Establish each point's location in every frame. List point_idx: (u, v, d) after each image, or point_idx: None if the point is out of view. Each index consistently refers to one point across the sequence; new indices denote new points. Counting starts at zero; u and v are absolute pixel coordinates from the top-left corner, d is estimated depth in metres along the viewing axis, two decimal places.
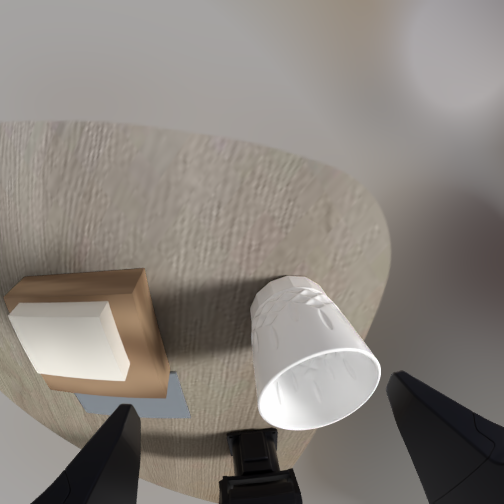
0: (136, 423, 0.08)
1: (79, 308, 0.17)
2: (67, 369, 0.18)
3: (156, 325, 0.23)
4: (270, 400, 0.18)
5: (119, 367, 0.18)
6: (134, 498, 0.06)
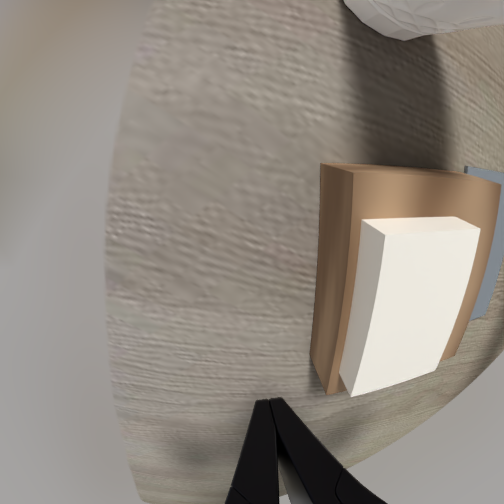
0: None
1: (365, 272, 0.12)
2: (445, 320, 0.12)
3: (405, 167, 0.15)
4: None
5: (461, 229, 0.10)
6: None
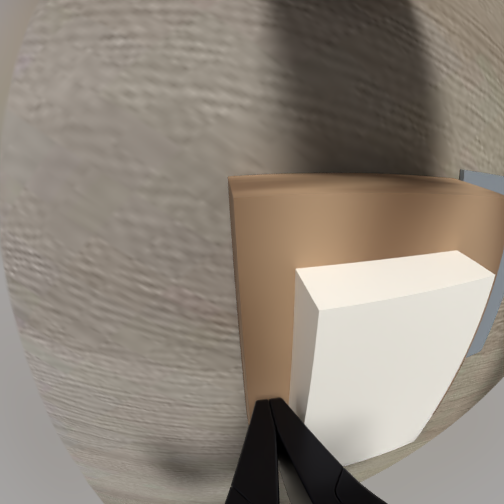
0: None
1: (300, 349, 0.08)
2: (430, 397, 0.08)
3: (365, 175, 0.10)
4: None
5: (466, 280, 0.06)
6: None
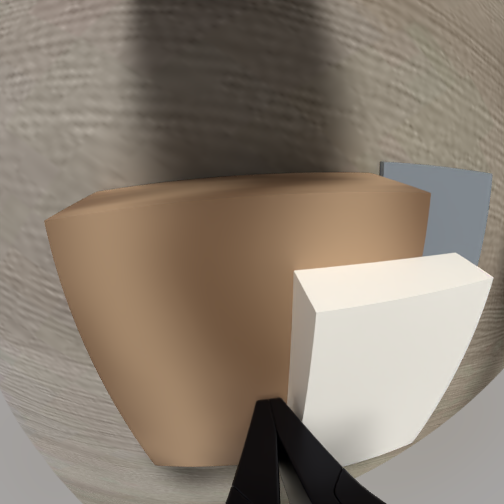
0: None
1: (298, 351, 0.08)
2: (428, 398, 0.08)
3: (230, 177, 0.10)
4: None
5: (464, 283, 0.06)
6: None
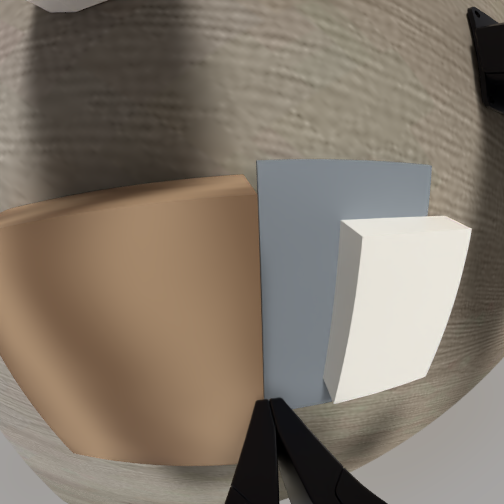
0: None
1: None
2: None
3: (93, 193, 0.09)
4: None
5: None
6: None
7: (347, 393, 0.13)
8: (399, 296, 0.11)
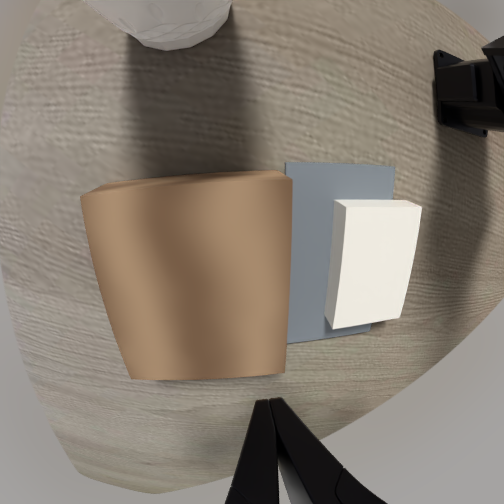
0: None
1: None
2: None
3: (184, 175, 0.17)
4: None
5: None
6: None
7: (342, 320, 0.20)
8: (372, 247, 0.18)
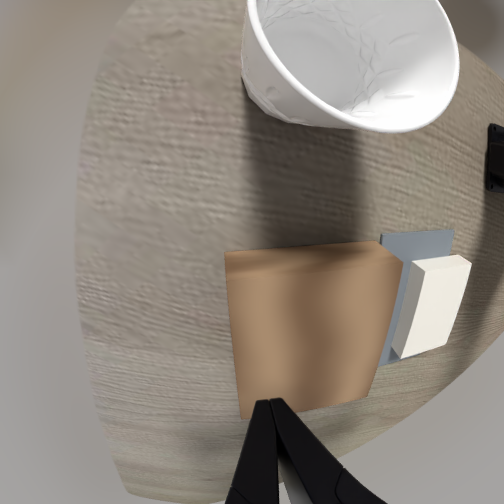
0: None
1: None
2: None
3: (304, 248, 0.19)
4: (400, 110, 0.09)
5: (425, 259, 0.21)
6: None
7: (407, 351, 0.22)
8: (436, 297, 0.20)
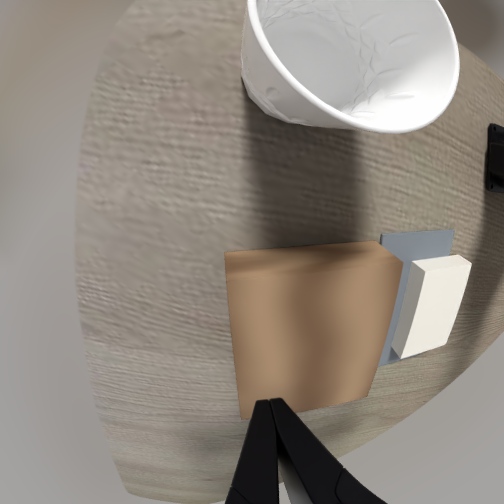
0: None
1: None
2: None
3: (304, 248, 0.19)
4: (400, 111, 0.09)
5: (425, 259, 0.21)
6: None
7: (408, 351, 0.22)
8: (436, 297, 0.20)
